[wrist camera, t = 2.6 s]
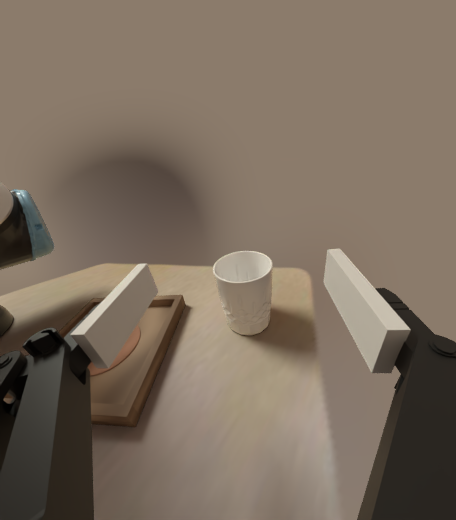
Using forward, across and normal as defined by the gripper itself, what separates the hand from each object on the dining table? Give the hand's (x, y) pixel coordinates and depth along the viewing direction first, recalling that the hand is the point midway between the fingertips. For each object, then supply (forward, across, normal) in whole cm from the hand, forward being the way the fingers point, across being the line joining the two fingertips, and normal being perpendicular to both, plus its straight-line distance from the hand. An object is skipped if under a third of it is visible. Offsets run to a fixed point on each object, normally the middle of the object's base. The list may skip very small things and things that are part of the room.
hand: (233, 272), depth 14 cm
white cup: (+10, 0, -16) cm, 19 cm away
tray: (+5, -21, -15) cm, 26 cm away
